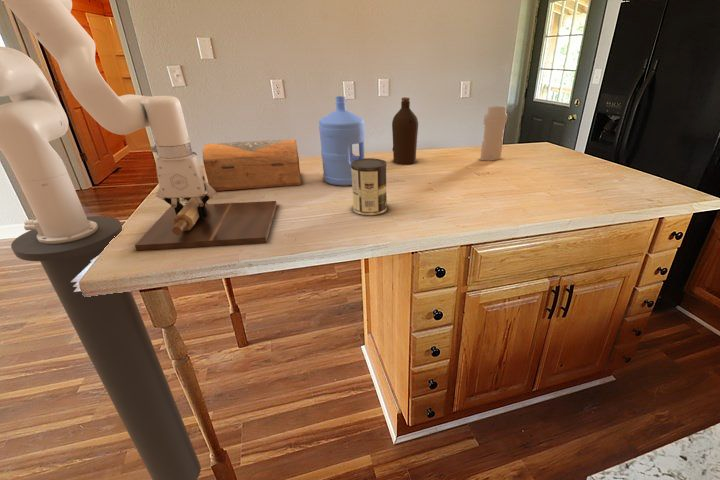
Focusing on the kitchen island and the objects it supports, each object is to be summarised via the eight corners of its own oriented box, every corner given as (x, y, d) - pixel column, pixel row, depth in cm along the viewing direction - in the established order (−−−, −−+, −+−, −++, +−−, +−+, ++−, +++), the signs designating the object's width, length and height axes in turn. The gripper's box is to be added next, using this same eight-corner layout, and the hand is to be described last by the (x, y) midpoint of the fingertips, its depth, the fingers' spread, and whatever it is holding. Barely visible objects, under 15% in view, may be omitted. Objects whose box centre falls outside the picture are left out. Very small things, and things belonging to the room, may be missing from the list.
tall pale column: (481, 161, 168) (487, 106, 157) (477, 158, 171) (483, 104, 160) (503, 159, 170) (511, 105, 159) (499, 157, 174) (506, 104, 163)
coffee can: (377, 200, 125) (376, 156, 118) (392, 211, 117) (393, 164, 110) (347, 206, 120) (344, 160, 113) (361, 218, 112) (359, 169, 105)
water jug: (320, 186, 136) (312, 99, 122) (326, 173, 150) (320, 94, 136) (365, 186, 137) (362, 100, 123) (367, 173, 150) (364, 94, 136)
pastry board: (136, 250, 94) (134, 245, 93) (172, 210, 116) (170, 205, 115) (266, 242, 98) (265, 237, 97) (276, 205, 120) (276, 200, 120)
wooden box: (299, 172, 151) (295, 135, 144) (302, 185, 137) (297, 145, 130) (216, 177, 144) (207, 138, 137) (209, 192, 130) (199, 149, 123)
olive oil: (421, 160, 167) (424, 97, 155) (408, 166, 159) (409, 100, 147) (401, 157, 172) (402, 95, 160) (387, 162, 165) (386, 98, 152)
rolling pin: (169, 239, 95) (164, 222, 92) (197, 204, 115) (193, 189, 113) (189, 238, 95) (184, 221, 93) (212, 203, 116) (209, 189, 114)
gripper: (131, 155, 92) (154, 227, 101) (207, 153, 94) (223, 223, 103) (143, 148, 98) (164, 215, 107) (215, 146, 101) (229, 212, 110)
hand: (193, 218), depth 105 cm, fingers closed on rolling pin, 4 cm apart
